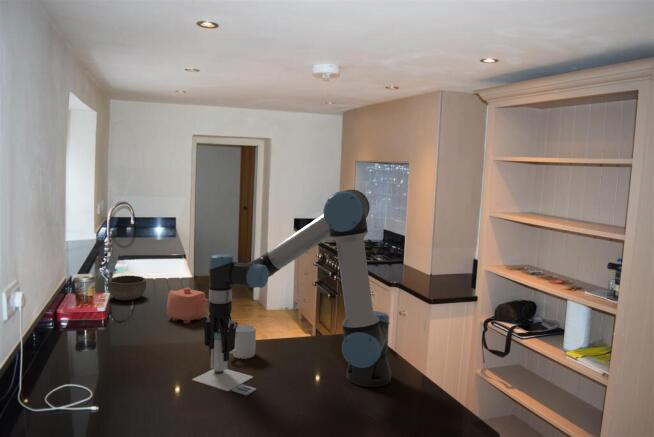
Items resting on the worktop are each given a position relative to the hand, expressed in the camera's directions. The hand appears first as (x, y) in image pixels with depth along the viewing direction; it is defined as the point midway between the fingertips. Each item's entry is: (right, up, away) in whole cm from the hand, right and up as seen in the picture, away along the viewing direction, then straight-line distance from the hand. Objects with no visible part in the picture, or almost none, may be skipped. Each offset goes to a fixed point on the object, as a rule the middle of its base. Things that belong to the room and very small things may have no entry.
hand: (219, 368), depth 179 cm
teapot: (-26, +5, +57) cm, 63 cm away
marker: (0, -1, 0) cm, 1 cm away
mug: (+4, 0, +16) cm, 17 cm away
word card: (+10, -4, -12) cm, 16 cm away
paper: (+2, -2, -4) cm, 5 cm away
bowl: (-64, +10, +87) cm, 108 cm away
